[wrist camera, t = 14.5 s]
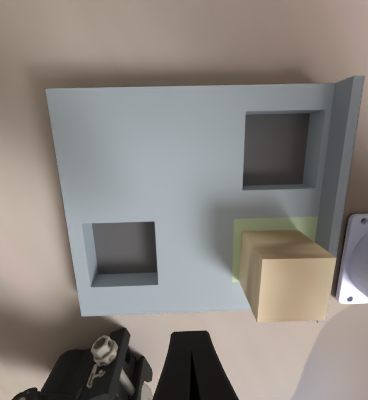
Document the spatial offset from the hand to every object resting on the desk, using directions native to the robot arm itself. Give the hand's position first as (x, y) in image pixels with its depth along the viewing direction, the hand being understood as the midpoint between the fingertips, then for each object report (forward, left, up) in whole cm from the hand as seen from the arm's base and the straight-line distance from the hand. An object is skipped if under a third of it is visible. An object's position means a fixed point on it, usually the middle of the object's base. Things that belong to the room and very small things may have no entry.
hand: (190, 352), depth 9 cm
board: (-1, -3, -10) cm, 10 cm away
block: (-6, 0, -8) cm, 10 cm away
